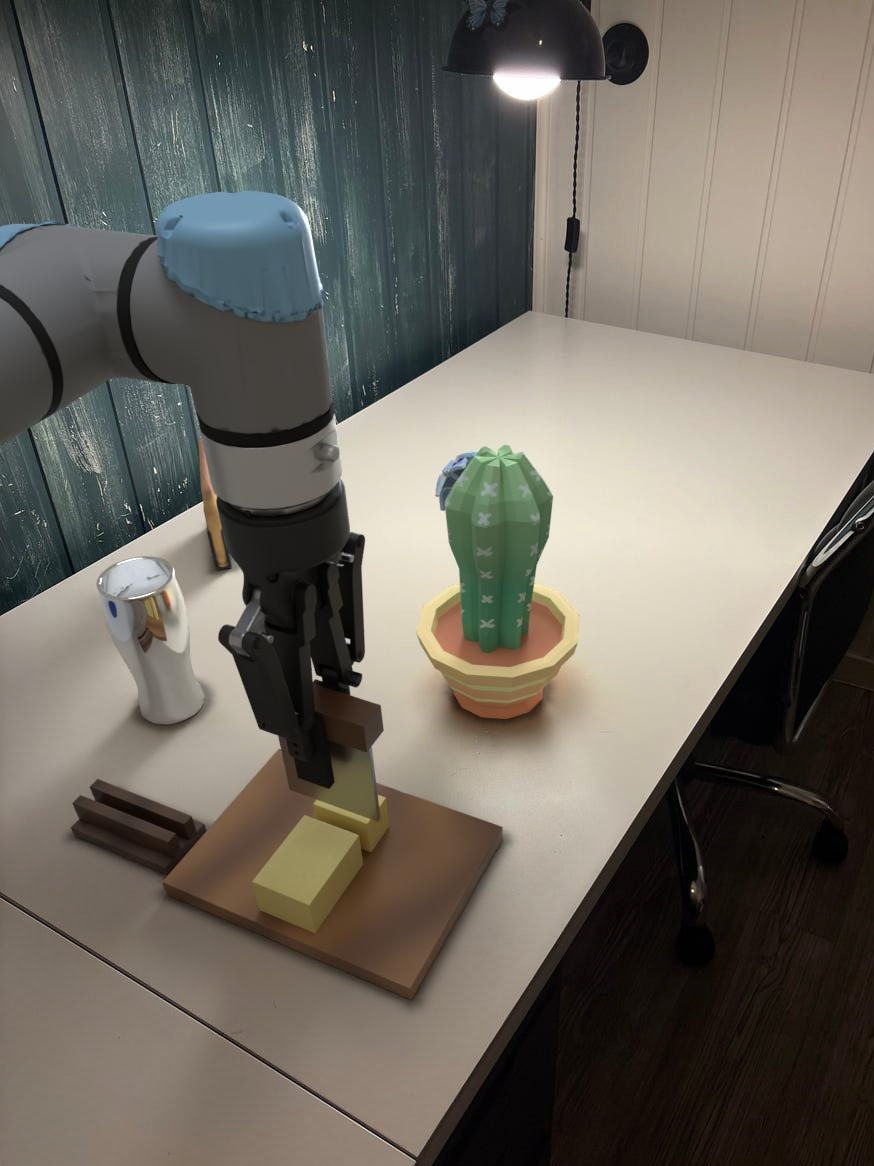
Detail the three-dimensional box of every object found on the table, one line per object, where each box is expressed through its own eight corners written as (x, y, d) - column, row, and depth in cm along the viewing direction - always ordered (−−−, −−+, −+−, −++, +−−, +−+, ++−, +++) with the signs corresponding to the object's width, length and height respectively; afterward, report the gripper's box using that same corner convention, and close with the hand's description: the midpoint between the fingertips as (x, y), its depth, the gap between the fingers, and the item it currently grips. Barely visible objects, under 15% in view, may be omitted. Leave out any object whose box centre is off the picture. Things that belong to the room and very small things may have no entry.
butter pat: (318, 832, 77) (312, 804, 75) (337, 807, 79) (332, 778, 77) (371, 852, 76) (367, 824, 73) (389, 826, 78) (386, 797, 76)
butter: (259, 910, 72) (251, 881, 69) (310, 843, 77) (304, 814, 74) (315, 934, 70) (309, 905, 68) (363, 864, 75) (359, 835, 73)
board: (165, 893, 75) (161, 882, 74) (281, 759, 86) (278, 748, 85) (411, 1000, 67) (410, 988, 66) (503, 838, 79) (503, 826, 78)
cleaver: (276, 796, 73) (252, 690, 67) (293, 776, 75) (272, 670, 68) (377, 833, 70) (363, 726, 64) (393, 811, 72) (381, 704, 65)
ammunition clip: (232, 568, 110) (212, 476, 103) (215, 570, 110) (194, 479, 102) (227, 521, 118) (208, 433, 111) (212, 523, 118) (192, 435, 110)
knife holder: (73, 835, 80) (62, 811, 78) (114, 794, 83) (105, 770, 81) (168, 875, 76) (159, 851, 74) (206, 831, 80) (199, 807, 78)
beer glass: (121, 720, 90) (77, 592, 81) (161, 674, 96) (123, 549, 86) (185, 734, 89) (148, 606, 79) (222, 687, 94) (191, 561, 84)
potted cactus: (559, 632, 100) (569, 411, 84) (594, 733, 88) (613, 497, 72) (413, 646, 98) (396, 424, 83) (428, 752, 86) (412, 515, 71)
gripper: (254, 568, 49) (313, 859, 63) (399, 440, 60) (421, 714, 74) (140, 537, 51) (222, 823, 66) (299, 420, 62) (339, 688, 77)
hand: (327, 765), depth 70 cm, fingers closed on cleaver, 2 cm apart
